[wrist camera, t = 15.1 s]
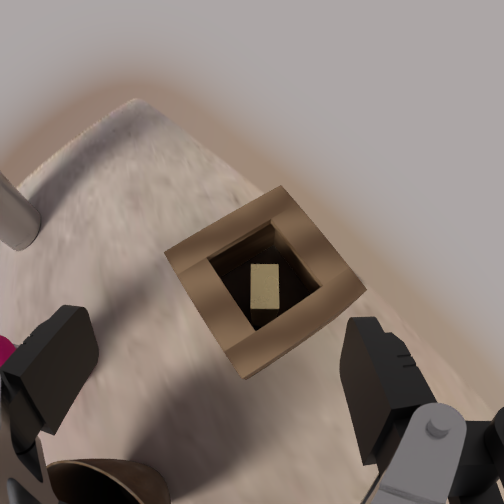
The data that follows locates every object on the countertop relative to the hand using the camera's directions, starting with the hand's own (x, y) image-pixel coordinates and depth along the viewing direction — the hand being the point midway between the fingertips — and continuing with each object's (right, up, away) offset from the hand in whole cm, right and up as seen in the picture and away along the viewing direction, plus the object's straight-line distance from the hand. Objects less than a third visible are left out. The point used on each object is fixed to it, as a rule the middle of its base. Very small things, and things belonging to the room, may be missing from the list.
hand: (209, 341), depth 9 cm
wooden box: (+3, -5, +34) cm, 34 cm away
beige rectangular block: (+3, -5, +34) cm, 34 cm away
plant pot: (-14, -30, +23) cm, 40 cm away
